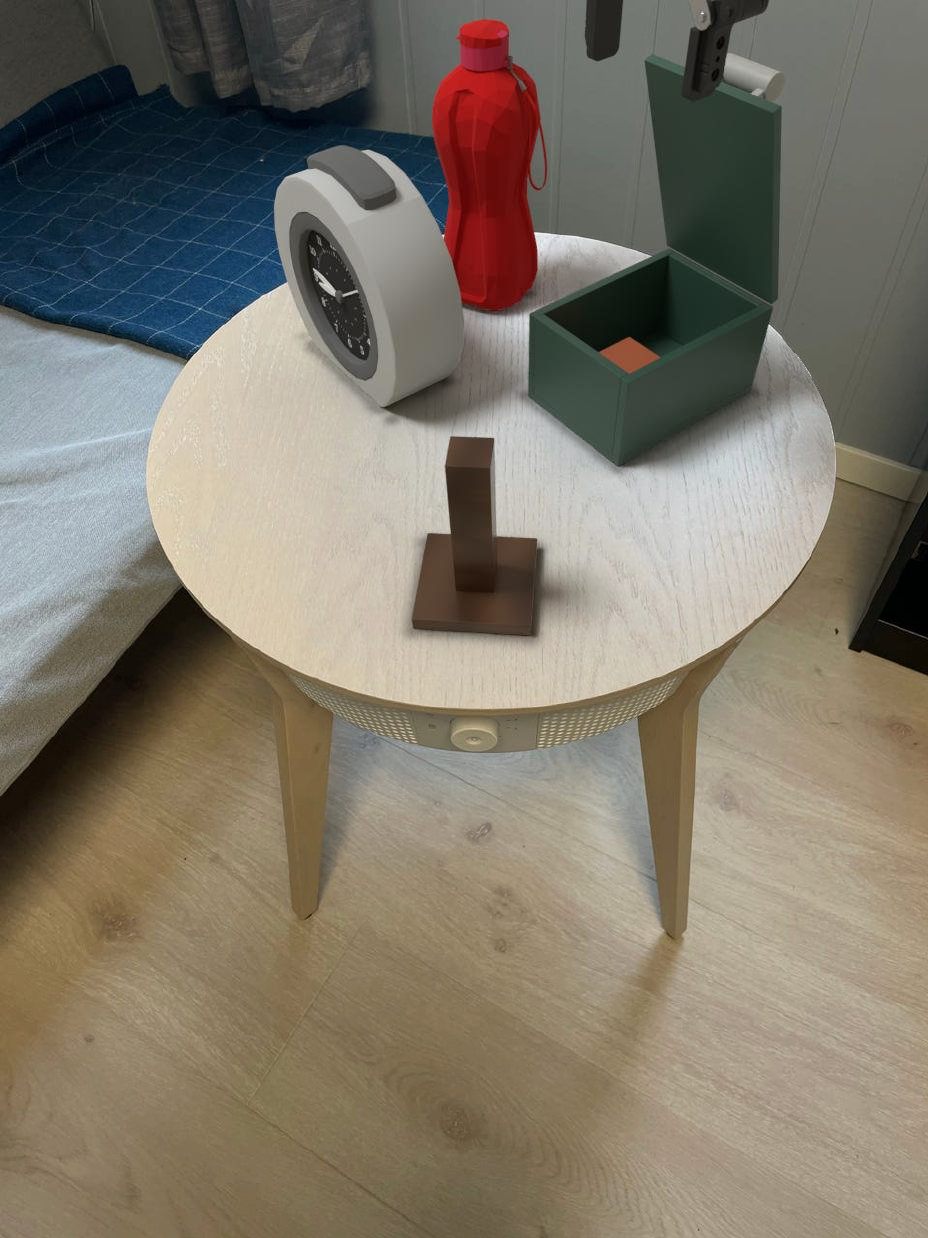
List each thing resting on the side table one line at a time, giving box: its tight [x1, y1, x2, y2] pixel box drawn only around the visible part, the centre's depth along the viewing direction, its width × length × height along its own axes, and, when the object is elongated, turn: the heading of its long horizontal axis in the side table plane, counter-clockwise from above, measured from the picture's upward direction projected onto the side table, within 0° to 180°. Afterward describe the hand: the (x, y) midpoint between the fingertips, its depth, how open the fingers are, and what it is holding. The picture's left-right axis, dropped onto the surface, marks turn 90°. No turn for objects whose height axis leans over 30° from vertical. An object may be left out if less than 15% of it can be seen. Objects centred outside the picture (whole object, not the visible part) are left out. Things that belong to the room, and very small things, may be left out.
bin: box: [527, 247, 774, 467], centre depth 78 cm, size 17×13×9 cm
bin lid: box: [644, 52, 786, 305], centre depth 69 cm, size 18×13×5 cm
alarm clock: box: [273, 145, 465, 408], centre depth 79 cm, size 21×8×20 cm, turn 36°
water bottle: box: [431, 18, 548, 312], centre depth 83 cm, size 9×11×25 cm
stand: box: [411, 435, 538, 636], centre depth 62 cm, size 9×9×14 cm
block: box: [599, 337, 661, 374], centre depth 78 cm, size 4×4×4 cm
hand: (647, 75), depth 53 cm, fingers open, 8 cm apart
